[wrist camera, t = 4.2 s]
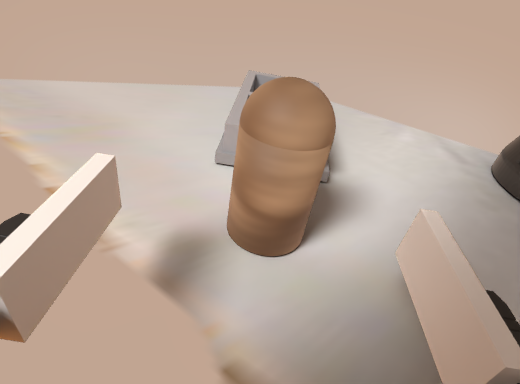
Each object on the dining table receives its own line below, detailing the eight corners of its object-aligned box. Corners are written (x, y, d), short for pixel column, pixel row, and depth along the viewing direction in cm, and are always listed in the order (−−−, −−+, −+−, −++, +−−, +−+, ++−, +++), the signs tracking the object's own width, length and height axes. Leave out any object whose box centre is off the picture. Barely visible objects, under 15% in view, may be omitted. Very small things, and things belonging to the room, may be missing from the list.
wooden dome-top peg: (315, 226, 23) (363, 86, 17) (276, 269, 19) (320, 108, 13) (256, 194, 25) (280, 59, 19) (210, 227, 21) (223, 71, 15)
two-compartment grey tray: (326, 182, 28) (338, 146, 26) (214, 162, 27) (217, 124, 25) (315, 109, 42) (322, 82, 40) (241, 95, 42) (245, 68, 40)
